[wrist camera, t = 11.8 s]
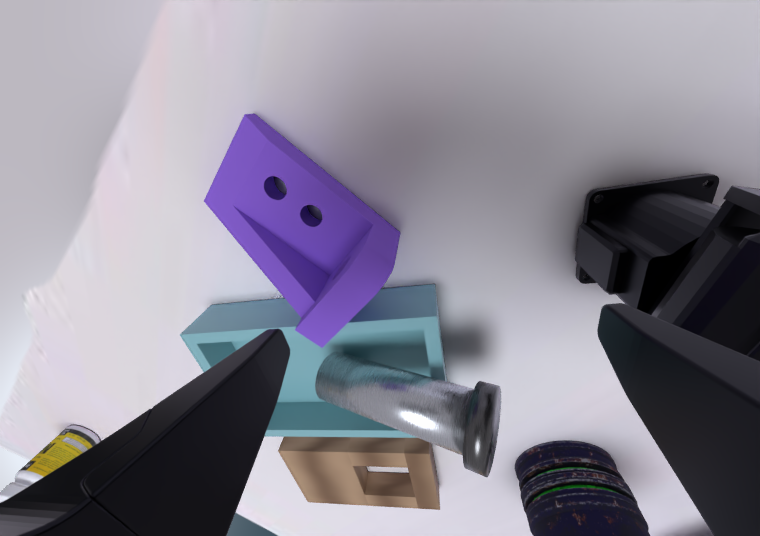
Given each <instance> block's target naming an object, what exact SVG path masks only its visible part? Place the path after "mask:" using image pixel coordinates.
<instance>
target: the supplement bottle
mask: <svg viewBox="0 0 760 536" xmlns="http://www.w3.org/2000/svg"><path fill="white" fill-rule="evenodd" d="M99 442H100V440H99V438H98V436H97V435H96V434H95V433H93V432H92V431H90V430H88V429H86V428H83V427H80V426H76V425H73V426H69V427H67V428H66V429H65V430H64V431H62V432H61V433H60V434H59V435H58V436H57V437H56V438H55V439H54V440H53V441H52V442H50V443H49V444H48V445H47V446H46V447H45V448H44V449H43V450H42V451H40V452H39V453H38V454H37V455H36V456H35V457H34V458H33V459H32V460H31V461H29V462H28V463H27V464H26V465H25V466H24V467H23V468H22V469H21V470H19V471H18V473H17V474H16V476H15V482H12V483H10V484H9V485H7V486H6V487H5V488H4V489H3V490H2V491H1V492H0V502H3V501H5V500H7V499H8V498H10V497H12V496H14V495H15V494H17V493H19V492H20V491H22V490H24V489H25V488H27V487H28V486H30V485H32V484H33V483H35V482H36V481H38V480H40V479H41V478H43V477H45V476H46V475H48V474H49V473H51V472H53V471H54V470H56V469H57V468H59V467H61V466H62V465H64V464H66V463H67V462H69V461H70V460H72V459H74V458H75V457H77V456H78V455H80V454H82V453H83V452H85V451H86V450H88V449H90V448H91V447H93V446H94V445H96V444H98V443H99Z"/></svg>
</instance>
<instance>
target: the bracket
mask: <svg viewBox="0 0 760 536" xmlns="http://www.w3.org/2000/svg"><path fill="white" fill-rule="evenodd" d="M274 176H275V177H278V178H280V179H281V180H282V181H283V182H284V183H285V185H286V188H287V193H286V195H285V194H283V193H281V192H280V191H279V190H278V188H277V187H276V185H275V182H274ZM204 202H205V203H206V204H207V205H208V207H209V208H210V209H211V210H212V211H213V213H214V214H215V215H216V216H217V217H218V219H219V220H220V221H221V222H222V223H223V225H224V226H225V227H226V228H227V229H228V231H229V232H230V233H231V234H232V235H233V237H234V238H235V239H236V240H237V241H238V243H239V244H240V245H241V246H242V247H243V249H244V250H245V251H246V252H247V253H248V255H249V256H250V257H251V258H252V259H253V261H254V262H255V263H256V264H257V265H258V267H259V268H260V269H261V270H262V271H263V273H264V274H265V275H266V276H267V277H268V279H269V280H270V281H271V282H272V283H273V285H274V286H275V287H276V288H277V289H278V291H279V292H280V293H281V294H282V295H283V297H284V298H285V299H286V300H287V301H288V303H289V304H290V305H291V306H292V307H293V309H294V310H295V311H296V312H297V313H298V315H299V316H300V317H301V320H300V322H299V323H298V325H297V327H296V329H295V331H297V332H298V333H300V334H301V335H303V336H304V337H306V338H307V339H309V340H310V341H312V342H314V343H315V344H317V345H318V346H320V347H321V348H323V347H324V346H325V345H326V344H327V343H328V342H329V341H330V340H331V339H332V338H333V337H334V336H335V335H336V334H337V333H338V332H339V331H340V330H341V329H342V328H343V327H344V326H345V325H346V324H347V323H348V322H349V321H350V320H351V319H352V318H353V317H354V316H355V315H356V314H357V313H358V312H359V311H360V310H361V309H362V308H363V307H364V306H365V305H366V304H367V303H368V302H369V301H370V300H371V299H372V298H373V297H374V296H375V295H376V294H377V293H378V292H379V290H380V289H381V288H382V287H383V285H384V284H385V282H386V281H387V279H388V278H389V276H390V274H391V272H392V270H393V268H394V264H395V259H396V253H397V248H398V242H399V237H400V232H399V231H398V230H397V229H395V228H394V227H393V226H392V225H390V224H389V223H388V222H387V221H386V220H384V219H383V218H382V217H381V216H379V215H378V214H377V213H376V212H375V211H373V210H372V209H371V208H370V207H368V206H367V205H366V204H365V203H363V202H362V201H361V200H360V199H359V198H357V197H356V196H355V195H354V194H352V193H351V192H350V191H349V190H348V189H346V188H345V187H344V186H343V185H341V184H340V183H339V182H338V181H336V180H335V179H334V178H333V177H332V176H330V175H329V174H328V173H327V172H325V171H324V170H323V169H322V168H321V167H319V166H318V165H317V164H316V163H314V162H313V161H312V160H311V159H310V158H308V157H307V156H306V155H305V154H303V153H302V152H301V151H300V150H298V149H297V148H296V147H295V146H294V145H292V144H291V143H290V142H289V141H287V140H286V139H285V138H284V137H283V136H281V135H280V134H279V133H278V132H276V131H275V130H274V129H273V128H271V127H270V126H269V125H268V124H267V123H265V122H264V121H263V120H262V119H260V118H259V117H258V116H257V115H256V114H245V115H244V117H243V119H242V121H241V123H240V125H239V128H238V130H237V132H236V134H235V136H234V138H233V140H232V142H231V144H230V147H229V149H228V151H227V153H226V155H225V157H224V159H223V161H222V164H221V166H220V168H219V170H218V172H217V174H216V176H215V178H214V181H213V183H212V185H211V187H210V189H209V191H208V193H207V195H206V198H205V200H204ZM307 205H314V206H316V207H317V208H318V209H319V210H320V211H321V213H322V220H318V219H316V218H314V217H313V216H312V215H311V214H310V213H309V211H308V209H307Z"/></svg>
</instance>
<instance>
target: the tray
mask: <svg viewBox="0 0 760 536" xmlns="http://www.w3.org/2000/svg"><path fill="white" fill-rule="evenodd" d="M300 320H301V317H300V316H299V315H298V313H297V312H296V311H295V310H294V309H293V307H292V306H291V305H290V304H289V303H288V301H287V300H286V299H285V298H280V299H269V300H259V301H248V302H237V303H227V304H216V305H211V306H210V307H209V308H208V309H207V310H205V311H204V312H203V313H202V314H201V315H200V316H199V317H198V318H197V319H196V320H195V321H194V322H193V323H192V324H191V325H190V326H189V327H187V328H186V329H185V330H184V331H183V332H182V333H181V334H180V336H181V337H182V339H183V341H184V342H185V344H186V345H187V347H188V348H189V350H190V351H191V353H192V355H193V356H194V358H195V359H196V361H197V362H198V364H199V365H200V367H201V369H202V370H203V372H205V371H207V370H208V369H210V368H211V367H213V366H214V365H216V364H217V363H219V362H220V361H221V360H223V359H224V358H226V357H227V356H229V355H230V354H232V353H233V352H235V351H236V350H238V349H239V348H241V347H242V346H244V345H245V344H247V343H248V342H249V341H251V340H252V339H254V338H255V337H257V336H258V335H260V334H261V333H263V332H264V331H266V330H268V329H281V330H282V331H283V333H284V336H285V338H286V340H287V343H288V345H289V347H290V357H289V361H288V365H287V369H286V372H285V376H284V380H283V383H282V387H281V391H280V394H279V398H278V401H277V404H276V407H275V409H274V412H273V415H272V417H271V420H270V422H269V425H268V428H267V430H266V433H265V436H283V437H388V438H417V437H415V436H412V435H409V434H407V433H404V432H402V431H399V430H397V429H394V428H392V427H389V426H387V425H384V424H382V423H379V422H376V421H374V420H371V419H369V418H366V417H364V416H361V415H359V414H356V413H354V412H351V411H348V410H346V409H343V408H341V407H338V406H336V405H333V404H331V403H328V402H326V401H323V400H321V399H319V397H318V396H317V394H316V390H315V381H316V376H317V372H318V370H319V367H320V365H321V364H322V362H323V361H324V359H325V358H326V357H327V356H328V355H329V354H331V353H333V352H341V353H344V354H348V355H352V356H355V357H359V358H363V359H366V360H370V361H374V362H377V363H381V364H384V365H388V366H392V367H395V368H399V369H403V370H406V371H410V372H414V373H417V374H421V375H425V376H428V377H432V378H435V379H439V380H443V381H446V382H447V378H446V370H445V362H444V354H443V345H442V337H441V329H440V321H439V313H438V305H437V297H436V288H435V284H429V285H418V286H408V287H397V288H386V289H380V290H379V292H378V293H377V294H376V295H375V296H374V297H373V298H372V299H371V300H370V301H369V302H368V303H367V304H366V305H365V306H364V307H363V308H362V309H361V310H360V311H359V312H358V313H357V314H356V315H355V316H354V317H353V318H352V319H351V320H350V321H349V322H348V323H347V324H346V325H345V326H344V327H343V328H342V329H341V330H340V331H339V332H338V333H337V334H336V335H335V336H334V337H333V338H332V339H331V340H330V341H329V342H328V343H327V344H326V345H325V346H324V347H323V348H321V347H320V346H318V345H317V344H315V343H314V342H312V341H310V340H309V339H307V338H306V337H304V336H303V335H301V334H300V333H298V332H297V331H295V329H296V327H297V325H298V323H299V322H300Z"/></svg>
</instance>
